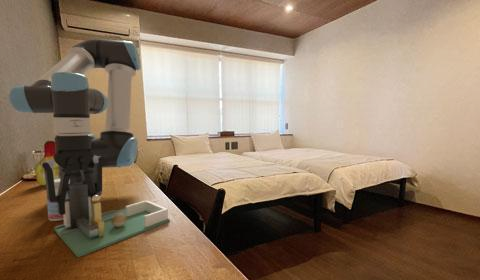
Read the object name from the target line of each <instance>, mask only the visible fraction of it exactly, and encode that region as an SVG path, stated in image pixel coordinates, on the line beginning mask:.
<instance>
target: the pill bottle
mask: <svg viewBox="0 0 480 280" xmlns="http://www.w3.org/2000/svg"><path fill="white" fill-rule="evenodd" d="M68 184H70V179H69V183H68ZM54 185H55V195H56V196H57V195H58V190H59V185H60V179H56V180H54ZM46 202H47V218H48V220H49V221H50V222H60V221H64V218H63V215H60V214H59V213H58V204H57V202H50V201H49V200H48V199H47V198H46Z"/></svg>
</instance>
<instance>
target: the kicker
mask: <svg viewBox="0 0 480 280" xmlns="http://www.w3.org/2000/svg"><path fill="white" fill-rule="evenodd" d="M65 199H66V200H67V201H69V211H70V227H69V228H70V229H71V230H72V229H76V228H79V229H80V230H81V231H83V232H84V233H85V234H86V235H87V236H88V237H89V238H91V237H94V236H98V237H101V236H104V235H105V232H104V221H103V220H102V218H101V213H102V203H101V201H100V200H101V196H100V195H94V196H92V198H91V200H92V202H91V213H92V217H91V222H89V203H88V184H86V183H84V182H77V183H71V184H68V188H67V193H66V198H65Z"/></svg>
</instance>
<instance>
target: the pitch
mask: <svg viewBox="0 0 480 280" xmlns="http://www.w3.org/2000/svg"><path fill="white" fill-rule="evenodd" d="M117 213H123V214H125V215H126V209H125V208H122V209H118V210H117V209H113V210H109V211H105V212H101V218H102V220H103V221H104V232H105V235H104V236H101V237H98V236H94V237H91V238H89V237H88V236H87V235H86V234H85V233H84V232H83V231H81V230H80V229H79V228H76V229H72V230H71V229H70V228H69V227H66V226H65V225H64V223H62V224H60V225H56V226H54V232H55V233H56V234H57V236H59V238H60V239H61V240H62V241H63V243H65V245H67V248H69V249H70V250H71V251H72V252H73V254H74V255H75V256H76V257H77V258H80V257H84V256H86V255H88V254H91V253H93V252H96V251H98V250H101V249H104V248H106V247H109V246H111V245H113V244H116V243H119V242H121V241H124V240H127V239H130V238H132V237H133V236H137V235H139V234H141V233H144V232H146V231H149V230H152V229H154V228H157V227H159V226H161V225H164V224H167V223H169V222H171V219H170V218H168V219H166V220H164V221H161V222H158V223H156V224H153V225H151V226H148V227H145V226H144V216H145V215H148V214H151V213H150V212H148V211H143V212H140V213H136V214H133V215H130V216H126V217H127V221H126V223H125V224H124V225H123V226H122V227H114V226H113V225H112V223H111V220H112V217H113V216H114V215H115V214H117ZM89 222H91V221H89Z"/></svg>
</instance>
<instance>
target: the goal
mask: <svg viewBox="0 0 480 280" xmlns="http://www.w3.org/2000/svg"><path fill="white" fill-rule="evenodd" d="M124 207H125V209H126V216H130V215H133V214H136V213H140V212H143V211H148V212H150V213H151V214H148V215H145V216H144V226H145V227H148V226H151V225H153V224H156V223H158V222H161V221H164V220H166V219H169V209H168V208H166V207H164V206H162V205H159V204H157V203H154V202H152V201H150V200H147V199H146V200H142V201H139V202H135V203H132V204H129V205H125V206H124Z"/></svg>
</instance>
